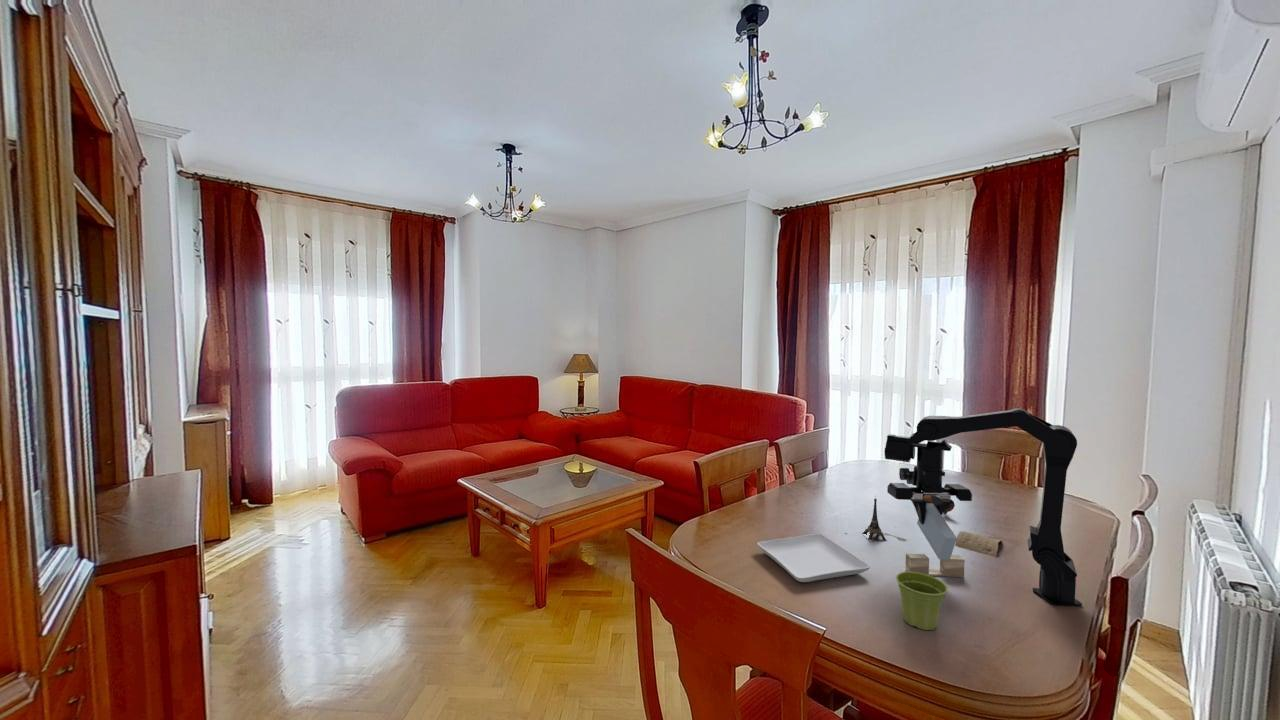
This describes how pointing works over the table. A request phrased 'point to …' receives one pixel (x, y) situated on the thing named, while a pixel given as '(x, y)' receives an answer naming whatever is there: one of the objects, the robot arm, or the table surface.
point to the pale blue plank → (937, 532)
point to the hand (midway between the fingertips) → (927, 523)
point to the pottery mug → (929, 500)
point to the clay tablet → (977, 543)
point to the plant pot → (921, 599)
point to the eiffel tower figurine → (877, 528)
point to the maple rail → (947, 568)
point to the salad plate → (812, 557)
